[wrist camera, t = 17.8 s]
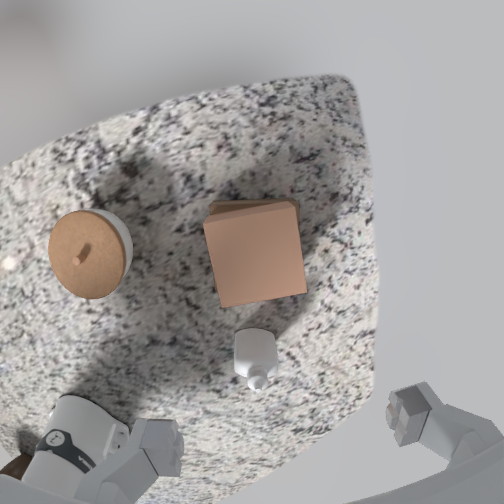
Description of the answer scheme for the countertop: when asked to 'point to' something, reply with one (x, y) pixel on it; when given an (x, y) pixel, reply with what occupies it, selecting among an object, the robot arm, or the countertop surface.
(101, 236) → the lidded jar
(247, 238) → the terracotta top block
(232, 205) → the walnut base block
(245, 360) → the eye dropper bottle
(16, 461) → the plant pot
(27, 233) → the countertop surface
